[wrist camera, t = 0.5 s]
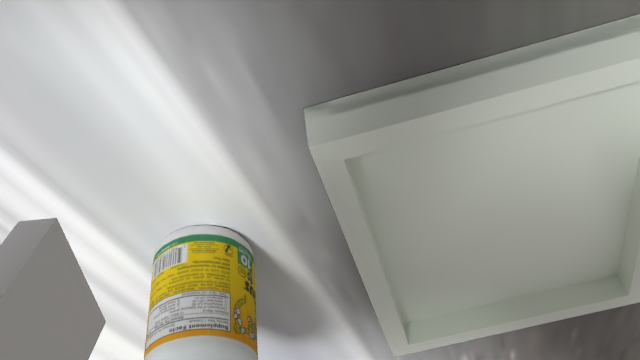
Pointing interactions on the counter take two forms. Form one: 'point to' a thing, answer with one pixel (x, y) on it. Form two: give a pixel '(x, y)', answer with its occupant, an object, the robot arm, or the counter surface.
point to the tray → (492, 188)
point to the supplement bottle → (202, 297)
